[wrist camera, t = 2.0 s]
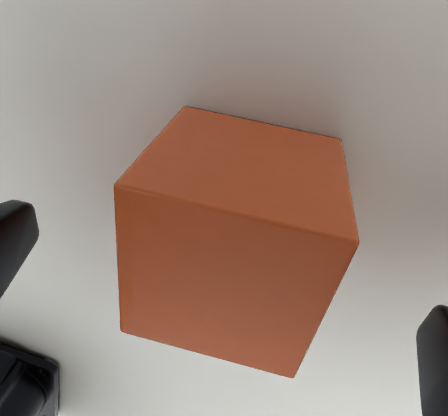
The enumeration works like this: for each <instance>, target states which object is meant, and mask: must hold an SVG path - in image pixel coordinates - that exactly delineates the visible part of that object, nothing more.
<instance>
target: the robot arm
mask: <svg viewBox="0 0 448 416" xmlns="http://www.w3.org/2000/svg"><path fill="white" fill-rule="evenodd" d="M38 236H39V228H38V223H37V219H36V214H35V209H34V207H33V206H32V204H30V203H27V202H23V201H19V200H10V201H7V202H4V203H0V298H1V297H2V295H3V294H4V292H5V291H6V289H7V288H8V286H9V285H10V283H11V282H12V280H13V278H14V277H15V275H16V274H17V272H18V270H19V269H20V267H21V266H22V264H23V262H24V261H25V259H26V258H27V256H28V254H29V253H30V251H31V250H32V248H33V247H34V245H35V243H36V242H37V239H38ZM416 342H417V356H418V370H419V384H420V398H421V408H422V415H423V416H448V306H445V305H437V306H435V307H434V308H433V309H432V311H431V312H430V313H429V315H428V316H427V317H426V318H425V320H424V321H423V322H422V324H421V325H420V326H419V328H418V331H417V335H416ZM58 380H59V369H58V367H57V366H56V365H55V364H54V363H52V362H50V361H47V360H44V359H42V358H39V357H36V356H33V355H31V354H28V353H25V352H22V351H19V350H17V349H14V348H11V347H8V346H5V345H3V344H0V416H57V415H58Z"/></svg>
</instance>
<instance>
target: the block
mask: <svg viewBox="0 0 448 416" xmlns="http://www.w3.org/2000/svg"><path fill="white" fill-rule="evenodd" d="M114 201H115V222H116V244H117V265H118V286H119V307H120V329H121V331H122V332H124V333H127V334H131V335H135V336H138V337H142V338H146V339H149V340H153V341H157V342H160V343H164V344H168V345H171V346H175V347H179V348H182V349H186V350H190V351H193V352H197V353H201V354H204V355H208V356H212V357H216V358H219V359H223V360H227V361H230V362H234V363H238V364H241V365H245V366H249V367H252V368H256V369H260V370H263V371H267V372H271V373H274V374H278V375H282V376H285V377H289V378H294V376H295V375H296V372H297V370H298V368H299V366H300V364H301V362H302V360H303V358H304V356H305V354H306V352H307V350H308V348H309V346H310V344H311V342H312V340H313V338H314V335H315V333H316V331H317V329H318V327H319V325H320V323H321V321H322V319H323V317H324V315H325V313H326V311H327V309H328V307H329V305H330V303H331V301H332V299H333V296H334V294H335V292H336V290H337V288H338V286H339V284H340V282H341V280H342V278H343V276H344V274H345V272H346V270H347V268H348V266H349V264H350V262H351V259H352V257H353V255H354V253H355V251H356V249H357V247H358V245H359V237H358V231H357V226H356V220H355V214H354V208H353V203H352V197H351V191H350V186H349V180H348V174H347V169H346V163H345V157H344V151H343V146H342V140H340V139H336V138H332V137H327V136H322V135H318V134H313V133H308V132H304V131H299V130H294V129H290V128H285V127H280V126H276V125H271V124H266V123H262V122H257V121H252V120H248V119H243V118H238V117H234V116H229V115H224V114H220V113H215V112H210V111H206V110H201V109H196V108H192V107H187V106H185V107H183V108H182V109H181V110H180V112H179V113H178V114H177V115H176V116H175V117H174V118H173V119H172V120H171V122H170V123H169V124H168V125H167V126H166V127H165V128H164V129H163V130H162V132H161V133H160V134H159V135H158V136H157V137H156V138H155V139H154V140H153V142H152V143H151V144H150V145H149V146H148V147H147V148H146V149H145V150H144V151H143V153H142V154H141V155H140V156H139V157H138V158H137V159H136V160H135V161H134V163H133V164H132V165H131V166H130V167H129V168H128V169H127V170H126V171H125V173H124V174H123V175H122V176H121V177H120V178H119V179H118V180H117V181H116V183H115V184H114Z"/></svg>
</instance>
